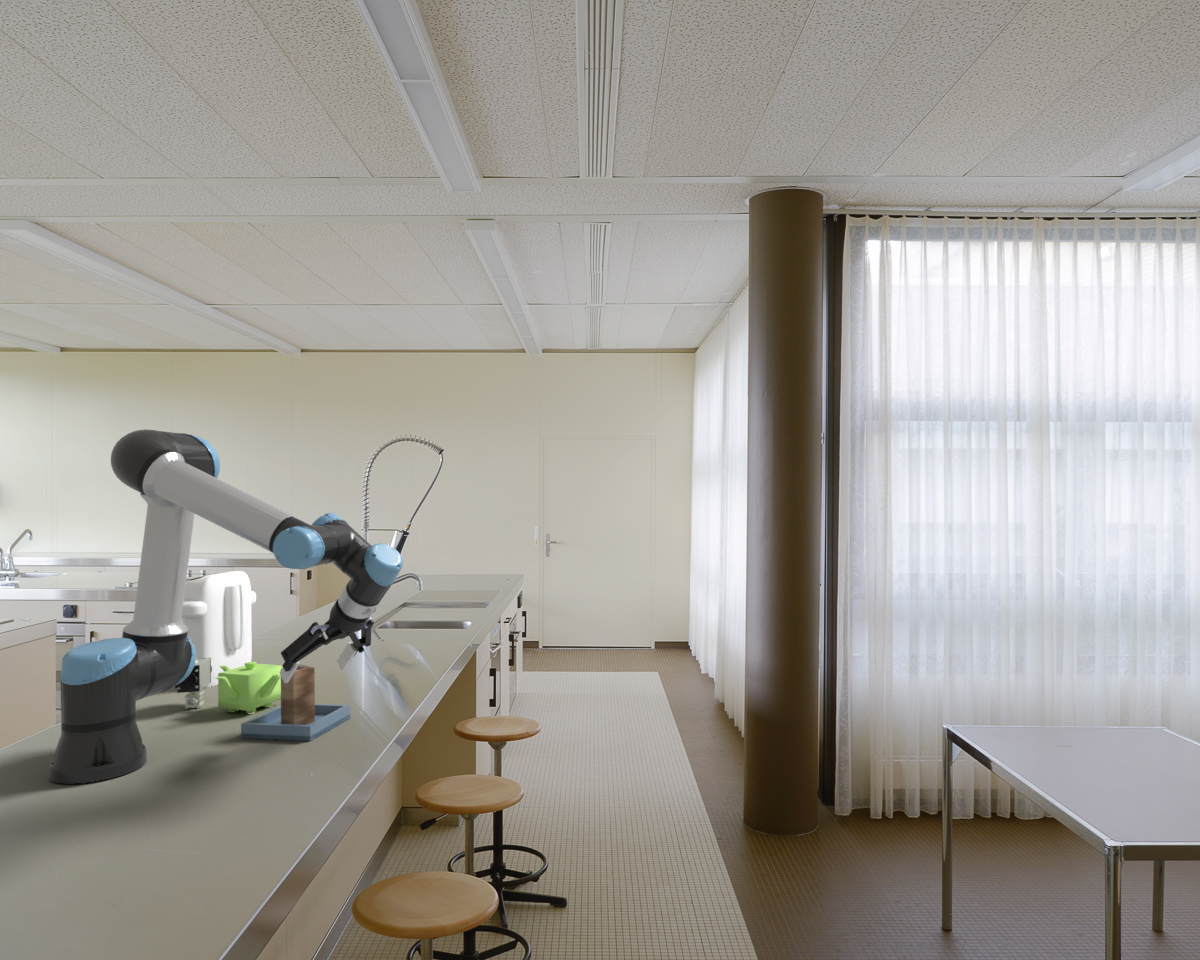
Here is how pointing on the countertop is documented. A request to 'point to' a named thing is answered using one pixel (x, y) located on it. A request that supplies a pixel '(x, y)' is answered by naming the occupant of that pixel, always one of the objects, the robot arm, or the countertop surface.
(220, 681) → the kettle
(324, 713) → the tray
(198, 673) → the pneumatic valve
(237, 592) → the toaster
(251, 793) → the countertop surface
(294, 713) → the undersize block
